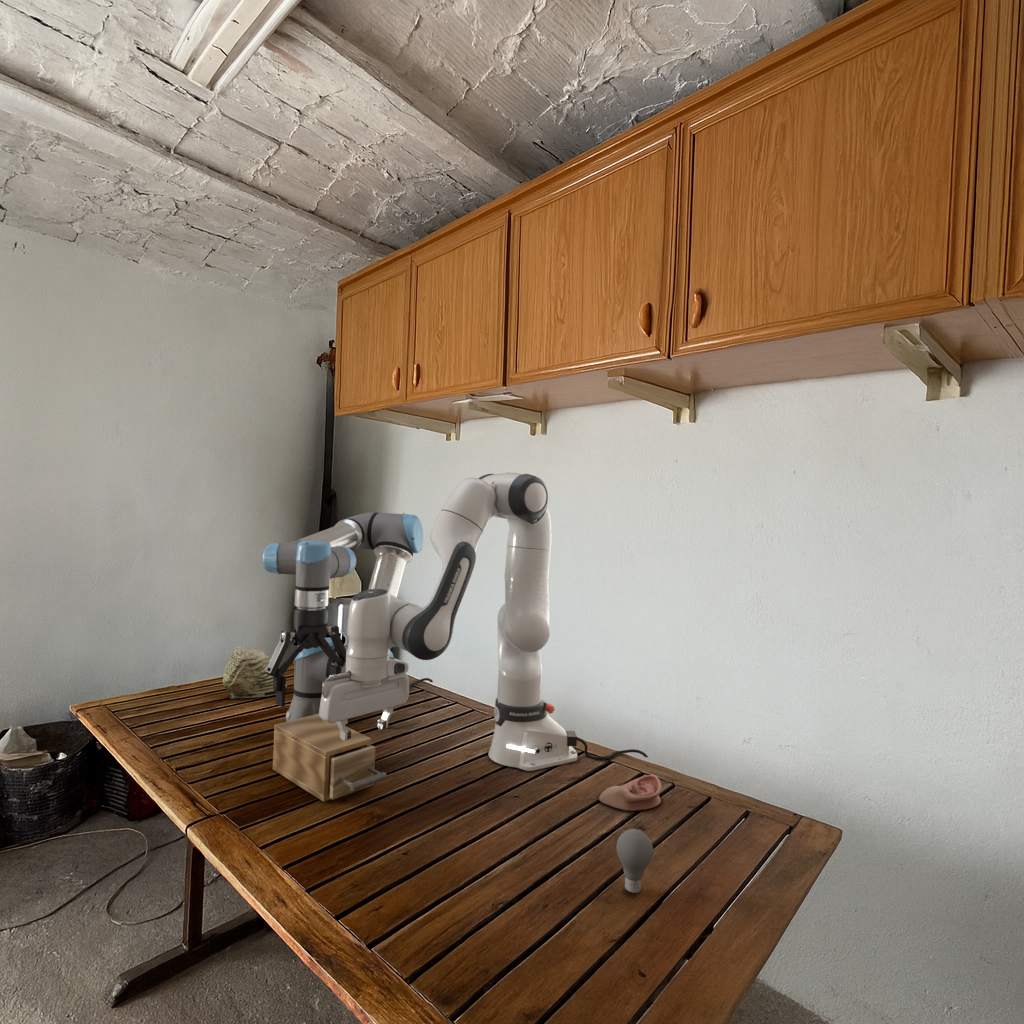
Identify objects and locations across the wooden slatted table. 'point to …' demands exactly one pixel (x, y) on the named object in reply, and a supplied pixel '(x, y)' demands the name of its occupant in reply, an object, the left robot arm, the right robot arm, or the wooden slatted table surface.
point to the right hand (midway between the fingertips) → (364, 733)
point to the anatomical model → (634, 794)
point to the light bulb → (634, 857)
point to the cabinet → (310, 751)
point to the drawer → (353, 771)
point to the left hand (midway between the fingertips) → (307, 699)
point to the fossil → (248, 674)
